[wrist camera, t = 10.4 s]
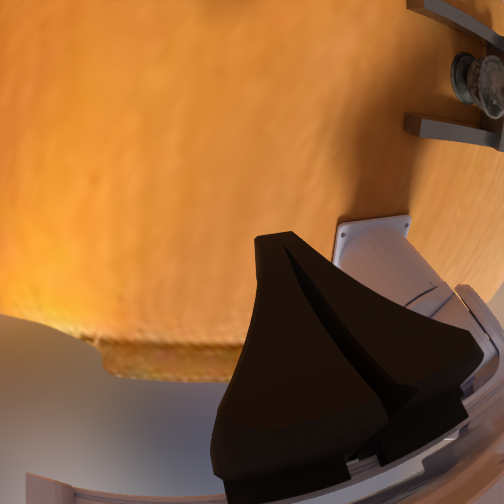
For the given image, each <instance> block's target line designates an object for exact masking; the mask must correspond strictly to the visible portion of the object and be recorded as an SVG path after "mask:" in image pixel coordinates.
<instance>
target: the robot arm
mask: <svg viewBox="0 0 504 504" xmlns="http://www.w3.org/2000/svg"><path fill="white" fill-rule="evenodd" d="M411 219H412V218H411V217H410V216H409V215H399V216H391V217H383V218H376V219H368V220H360V221H353V222H345V223H341V224H340V225H339V226H338V228H337V235H336V242H335V248H334V255H333V261H332V263H331V262H330V261H328V260H327V259H326V258H325V257H323V256H322V255H321V254H320V253H318V252H317V251H316V250H314V249H313V248H312V247H311V246H310V245H308V244H307V243H306V242H305V241H303V240H302V239H301V238H300V237H299V236H297V235H296V234H295V233H294V232H292V231H288V232H281V233H275V234H268V235H261V236H257V237H256V238H255V239H254V244H255V262H256V279H257V290H256V298H255V303H254V308H253V313H252V318H251V322H250V326H249V329H248V333H247V336H246V340H245V343H244V346H243V349H242V352H241V355H240V358H239V360H238V363H237V366H236V368H235V371H234V374H233V376H232V379H231V381H230V383H229V385H228V388H227V390H226V392H225V394H224V396H223V398H222V400H221V403H220V405H219V407H218V410H217V416H216V420H215V425H214V428H213V433H212V439H211V446H210V456H211V462H212V467H213V472H214V475H216V476H217V477H219V478H220V479H222V480H223V483H224V488H225V493H226V494H218V495H206V496H187V497H154V496H134V495H122V494H114V493H106V492H99V491H92V490H86V489H81V488H76V487H72V486H71V485H68V484H65V483H62V482H59V481H55V480H51V479H48V478H44V477H41V476H37V475H34V474H30V473H26V504H291V503H295V502H299V501H303V500H307V499H311V498H314V497H318V496H321V495H324V494H327V493H331V492H334V491H337V490H340V489H343V488H346V487H348V486H351V485H354V484H356V483H359V482H361V481H364V480H366V479H369V478H371V477H374V476H376V475H378V474H380V473H383V472H385V471H387V470H389V469H391V468H393V467H396V466H398V465H400V464H402V463H403V462H405V461H407V460H409V459H411V458H413V457H415V456H417V455H419V454H421V453H422V452H424V451H426V450H427V449H429V448H431V447H432V446H434V445H436V444H438V443H439V442H441V441H442V440H453V441H452V442H450V443H448V444H447V445H445V446H443V447H442V448H440V449H438V450H437V451H435V452H433V453H432V454H430V455H429V456H427V457H426V458H424V459H423V460H422V464H423V467H424V469H423V470H422V471H420V472H418V473H416V474H414V475H412V476H410V477H408V478H406V479H404V480H402V481H400V482H398V483H396V484H394V485H391V486H389V487H387V488H385V489H382V490H380V491H378V492H375V493H373V494H370V495H368V496H366V497H363V498H360V499H358V500H355V501H352V502H350V503H347V504H504V330H503V329H502V327H501V325H500V323H499V322H498V320H497V319H496V317H495V316H494V315H493V313H492V312H491V311H490V309H489V308H488V306H487V305H486V304H485V303H484V301H483V300H482V299H481V298H480V296H479V295H478V294H477V293H476V292H475V291H474V290H473V288H472V287H471V286H469V285H461V284H458V285H457V286H456V287H455V288H454V289H455V291H456V292H457V293H458V294H459V296H460V297H461V300H462V301H463V302H464V304H465V305H466V306H467V308H468V309H469V311H468V310H467V308H466V307H465V306H464V304H463V303H462V302H461V300H460V299H459V298H458V297H457V295H456V294H455V293H454V292H453V290H452V289H451V288H450V287H449V285H448V284H447V283H446V282H445V281H443V280H442V279H441V278H440V276H439V275H438V274H437V273H436V272H435V270H434V269H433V268H432V267H431V266H430V265H429V264H428V262H427V261H426V260H425V259H424V258H423V257H422V256H421V255H420V253H419V252H418V251H417V250H416V249H415V248H414V247H413V246H412V245H411V244H410V243H409V242H408V240H407V239H406V238H407V234H408V231H409V227H410V224H411ZM405 224H406V225H405ZM342 233H344V234H343V235H341V234H342ZM485 333H486V334H487V335H488V337H489V339H488V337H487V336H486V334H485Z"/></svg>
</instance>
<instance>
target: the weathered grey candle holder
mask: <svg viewBox="0 0 504 504" xmlns="http://www.w3.org/2000/svg"><path fill="white" fill-rule="evenodd" d="M451 83H452V87H453V90H454V92H455V94H456V97H457V98H458V99H459V100H460V101H461V102H462V103H464V104H467V105H471V104H474V103H476V104H477V105H478V106H479V107H480V108H481V109H482V110H483V111H485V113H486V114H487V115H488V116H489V117H490V118H494V119H497V118H500V117H501V116H502V115H504V63H503V62H502V61H501V60H500V59H499V58H498V57H496V56H495V55H489V56H487V57H481V58H477V59H475V57H473V56H472V55H471V54H469V53H467V52H461V53H459V54H457V56H456V57H455V58H454V60H453V62H452V66H451Z"/></svg>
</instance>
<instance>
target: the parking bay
mask: <svg viewBox="0 0 504 504" xmlns="http://www.w3.org/2000/svg"><path fill="white" fill-rule="evenodd" d="M407 9H409V10H411V11H414V12H417V13H419V14H422V15H424V16H427V17H429V18H432V19H434V20H436V21H439V22H441V23H443V24H445V25H447V26H449V27H451V28H454V29H456V30H458V31H460V32H462V33H463V34H465V35H467V36H469V37H471V38H473V39H475V40H476V41H478V42H480V43H482V44H483V45H485V46H486V57H487V56H489V55H495V56H496V57H498V58H499V59H500V60H501V61H502V62H503V63H504V37H503V36H500V35H499V34H497V33H496V32H494V31H493V30H491V29H490V28H488V27H487V26H485V25H484V24H482V23H481V22H479V21H478V20H476V19H474V18H473V17H471V16H469V15H468V14H466V13H464V12H463V11H461V10H459V9H457V8H456V7H454V6H452V5H450V4H448V3H446V2H444V1H442V0H407ZM404 130H405V131H407V132H409V133H411V134H413V135H415V136H417V137H419V138H430V139H439V140H448V141H456V142H463V143H470V144H476V145H482V146H488V147H492V148H494V149H496V150H497V151H501V152H504V115H502V116H501V117H500V118H497V119H494V118H490V117H489V116H488V115H487V114H486V113H485V111H483V110H482V116H481V123H480V126H476V125H472V124H468V123H463V122H459V121H454V120H449V119H444V118H438V117H433V116H426V115H420V114H413V113H405V123H404Z"/></svg>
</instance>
